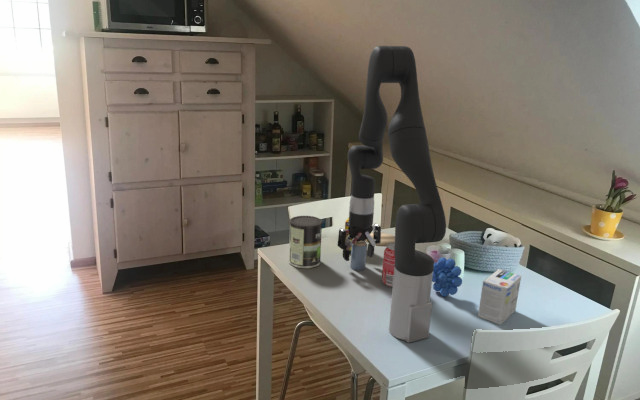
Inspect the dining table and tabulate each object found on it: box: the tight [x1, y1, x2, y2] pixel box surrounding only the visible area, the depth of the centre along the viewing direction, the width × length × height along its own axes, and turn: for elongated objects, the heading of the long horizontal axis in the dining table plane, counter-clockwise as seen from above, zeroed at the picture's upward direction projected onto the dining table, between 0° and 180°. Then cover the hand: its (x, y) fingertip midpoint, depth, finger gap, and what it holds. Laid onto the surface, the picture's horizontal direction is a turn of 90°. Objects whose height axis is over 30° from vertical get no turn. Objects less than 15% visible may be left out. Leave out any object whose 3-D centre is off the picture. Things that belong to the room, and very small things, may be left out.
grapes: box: [432, 257, 463, 297], centre depth 151 cm, size 12×7×12 cm, turn 32°
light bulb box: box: [477, 268, 522, 326], centre depth 142 cm, size 11×7×11 cm, turn 141°
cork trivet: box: [365, 231, 395, 247], centre depth 193 cm, size 12×12×1 cm
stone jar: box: [349, 241, 368, 272], centre depth 168 cm, size 5×5×9 cm
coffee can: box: [288, 215, 323, 269], centre depth 169 cm, size 10×10×14 cm
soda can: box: [381, 243, 395, 288], centre depth 157 cm, size 7×7×12 cm
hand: (358, 258), depth 168 cm, fingers open, 8 cm apart
